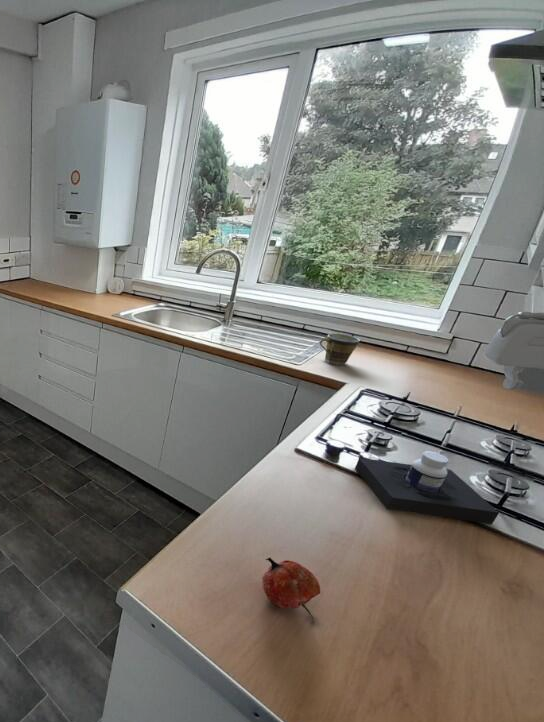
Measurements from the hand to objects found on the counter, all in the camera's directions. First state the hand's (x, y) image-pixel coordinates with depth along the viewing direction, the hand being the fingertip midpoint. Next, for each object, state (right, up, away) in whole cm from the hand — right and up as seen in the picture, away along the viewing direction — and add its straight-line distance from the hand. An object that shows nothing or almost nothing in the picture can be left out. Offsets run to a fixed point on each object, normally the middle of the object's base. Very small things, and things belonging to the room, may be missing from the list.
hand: (542, 391), depth 72 cm
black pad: (-7, -22, +16) cm, 28 cm away
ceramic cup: (+25, +10, +85) cm, 89 cm away
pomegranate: (-50, -33, -8) cm, 61 cm away
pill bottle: (-7, -23, +16) cm, 29 cm away
